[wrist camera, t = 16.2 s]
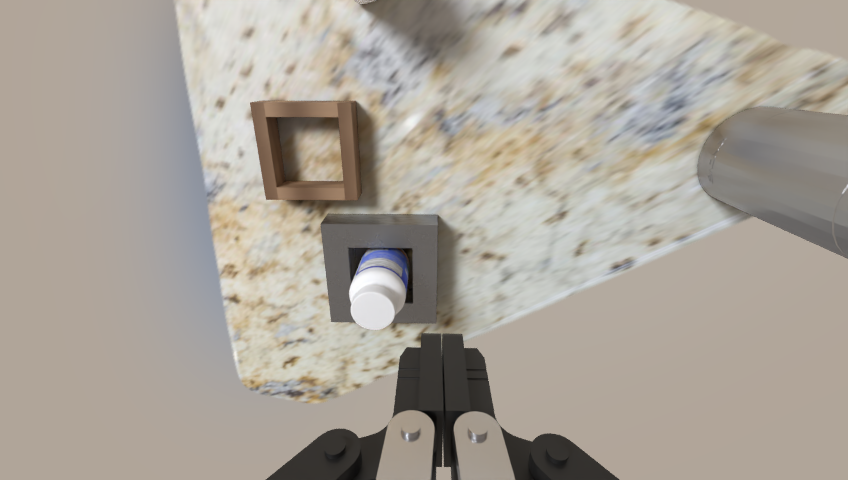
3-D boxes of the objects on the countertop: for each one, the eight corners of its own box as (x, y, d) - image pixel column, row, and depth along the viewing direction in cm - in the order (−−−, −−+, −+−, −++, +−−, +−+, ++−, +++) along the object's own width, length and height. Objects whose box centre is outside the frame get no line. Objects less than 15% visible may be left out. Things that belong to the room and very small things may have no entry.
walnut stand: (355, 101, 36) (350, 102, 34) (361, 192, 40) (357, 200, 38) (261, 100, 37) (250, 102, 34) (275, 192, 40) (266, 199, 38)
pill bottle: (398, 291, 45) (390, 346, 36) (354, 273, 44) (334, 325, 35) (417, 251, 43) (413, 299, 34) (371, 232, 42) (354, 276, 33)
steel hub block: (437, 214, 41) (437, 225, 38) (436, 308, 45) (436, 323, 43) (327, 213, 41) (320, 224, 38) (337, 306, 46) (331, 321, 43)
